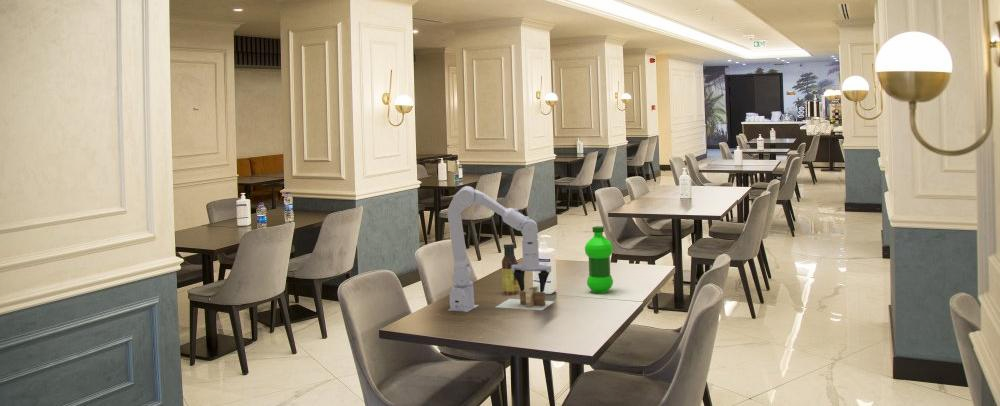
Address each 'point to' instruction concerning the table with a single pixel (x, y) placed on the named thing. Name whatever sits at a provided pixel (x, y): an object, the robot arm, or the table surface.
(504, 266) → the sauce bottle
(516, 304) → the base board
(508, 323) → the table surface
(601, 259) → the plastic bottle
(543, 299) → the brown rectangular block
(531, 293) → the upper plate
